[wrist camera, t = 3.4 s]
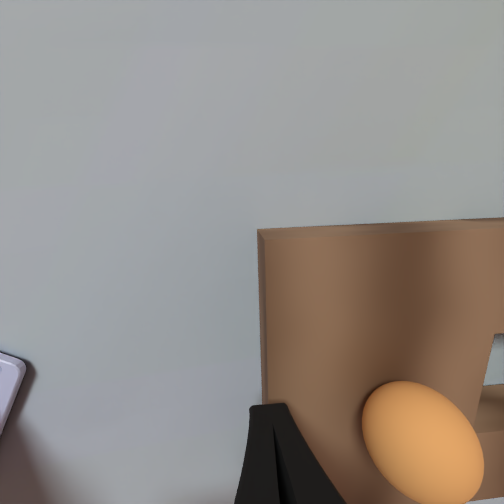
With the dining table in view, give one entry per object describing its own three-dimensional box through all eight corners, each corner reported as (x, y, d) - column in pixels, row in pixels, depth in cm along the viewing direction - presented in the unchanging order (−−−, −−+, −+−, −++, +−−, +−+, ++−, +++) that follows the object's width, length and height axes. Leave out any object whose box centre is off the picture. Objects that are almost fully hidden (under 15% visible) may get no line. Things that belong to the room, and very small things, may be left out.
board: (264, 470, 14) (271, 528, 12) (257, 229, 11) (264, 239, 8) (534, 438, 15) (591, 484, 13) (603, 212, 12) (698, 218, 10)
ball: (330, 414, 10) (378, 523, 7) (376, 348, 10) (453, 431, 6) (394, 439, 11) (467, 550, 8) (441, 378, 10) (543, 469, 7)
